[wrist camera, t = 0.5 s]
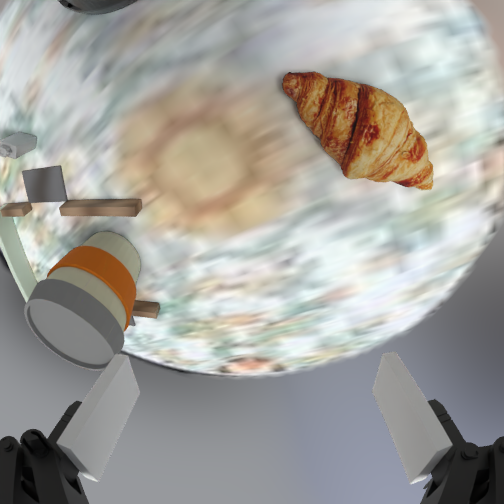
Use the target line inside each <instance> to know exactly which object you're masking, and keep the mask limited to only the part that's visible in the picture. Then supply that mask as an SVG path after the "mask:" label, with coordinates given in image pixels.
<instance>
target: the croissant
mask: <svg viewBox="0 0 504 504" xmlns="http://www.w3.org/2000/svg"><path fill="white" fill-rule="evenodd" d="M282 86H283V90H284V92H285V93H286V94H287V95H288V96H289V97H291V98H292V99H293V100H294V101H295V102H297V108H298V112H299V114H300V117H301V119H302V120H303V121H304V122H305V124H306V126H307V127H309V128H310V129H311V130H312V132H313V134H314V135H316V136H318V137H319V138H320V139H321V145H322V147H323V148H324V150H325V151H326V152H327V153H328V154H329V155H330V156H331V157H332V158H334V159H335V160H336V161H337V162H338V163H339V164H340V166H341V170H343V174H344V176H345V177H347V178H349V179H358V178H367V179H369V180H373V181H375V182H389V181H393V182H395V183H397V184H400V185H402V186H405V187H413V186H414V187H416V188H418V189H420V190H431V189H432V186H433V180H432V178H433V165H432V163H431V162H430V161H429V160H428V150H427V144H426V142H425V139H424V138H423V136H421V135H420V133H419V132H417V131H416V130H415V129H414V127H413V123H412V122H411V121H410V119H409V116H408V113H407V110H406V108H405V107H404V106H403V104H402V103H401V102H400V101H398V100H397V99H396V98H394V97H393V96H391V95H389V94H388V93H386V92H384V91H383V90H381V89H378V88H375V87H373V86H368V85H366V84H359V83H355V82H352V81H349V80H344V79H338V78H326V77H324V76H323V75H321V74H320V73H316V72H307V73H292V72H289V73H288V74H286V75H285V76H284V78H283V83H282Z"/></svg>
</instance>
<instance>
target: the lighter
mask: <svg viewBox="0 0 504 504" xmlns="http://www.w3.org/2000/svg"><path fill="white" fill-rule="evenodd" d="M36 141H37V137H36V136H33V135H29V134H26V133H22V132H17V133H15V134H13V135H11V136H8V137H6V138H4V139H2V140H0V156H2V157H7V156H8V157H10V158H13V159H16V158H18V157H20V156H22V155H23V154H25V153H27V152H29V151H31V150H33V149H35V148H36Z"/></svg>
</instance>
